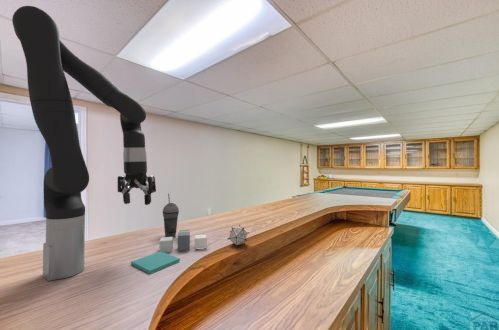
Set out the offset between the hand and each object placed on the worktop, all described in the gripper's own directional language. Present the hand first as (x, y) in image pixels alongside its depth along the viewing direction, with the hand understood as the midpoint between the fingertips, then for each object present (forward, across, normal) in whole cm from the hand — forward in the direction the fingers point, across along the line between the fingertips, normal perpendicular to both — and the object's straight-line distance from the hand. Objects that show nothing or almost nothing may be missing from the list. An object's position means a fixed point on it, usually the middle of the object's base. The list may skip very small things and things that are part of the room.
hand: (137, 204), depth 82 cm
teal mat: (+18, +11, -6) cm, 22 cm away
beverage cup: (+20, 0, +20) cm, 29 cm away
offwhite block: (+20, +20, +11) cm, 30 cm away
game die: (+21, +34, +17) cm, 43 cm away
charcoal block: (+20, +14, +8) cm, 25 cm away
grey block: (+19, +8, +5) cm, 21 cm away
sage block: (+20, +9, +17) cm, 28 cm away
